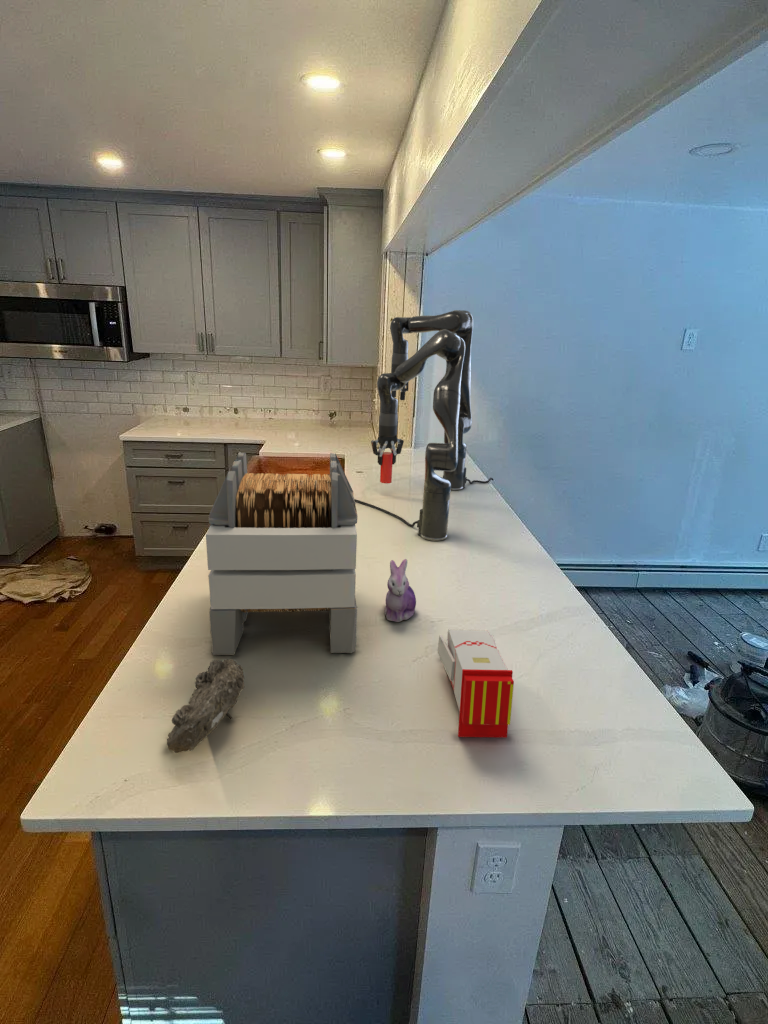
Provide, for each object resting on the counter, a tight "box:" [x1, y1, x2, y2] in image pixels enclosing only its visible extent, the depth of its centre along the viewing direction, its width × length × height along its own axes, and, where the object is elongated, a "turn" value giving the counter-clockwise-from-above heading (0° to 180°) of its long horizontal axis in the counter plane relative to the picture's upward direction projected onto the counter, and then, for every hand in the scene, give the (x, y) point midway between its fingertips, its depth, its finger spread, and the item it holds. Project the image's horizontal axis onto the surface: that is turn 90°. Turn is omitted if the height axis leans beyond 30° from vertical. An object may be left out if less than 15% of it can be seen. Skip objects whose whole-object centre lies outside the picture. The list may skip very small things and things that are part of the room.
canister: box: [379, 451, 393, 484], centre depth 235 cm, size 5×5×12 cm
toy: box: [437, 628, 515, 738], centre depth 117 cm, size 12×13×30 cm
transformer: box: [205, 451, 358, 657], centre depth 136 cm, size 34×33×41 cm
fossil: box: [166, 658, 245, 754], centre depth 106 cm, size 22×10×15 cm
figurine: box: [384, 558, 417, 623], centre depth 145 cm, size 9×10×15 cm
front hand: (386, 464), depth 234 cm, fingers closed on canister, 5 cm apart
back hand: (397, 398), depth 266 cm, fingers open, 8 cm apart
